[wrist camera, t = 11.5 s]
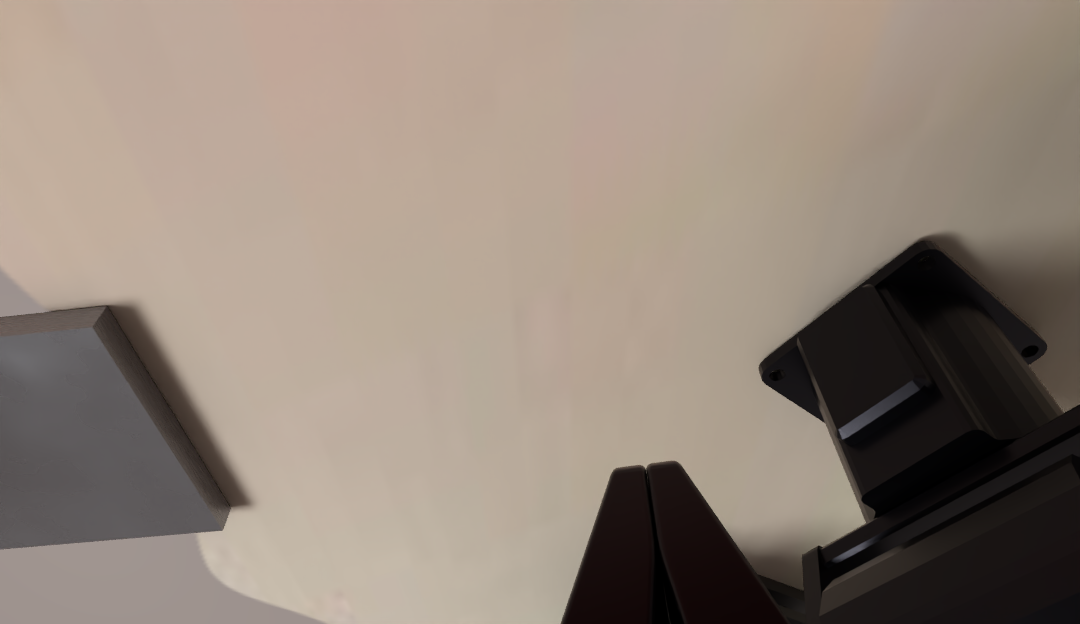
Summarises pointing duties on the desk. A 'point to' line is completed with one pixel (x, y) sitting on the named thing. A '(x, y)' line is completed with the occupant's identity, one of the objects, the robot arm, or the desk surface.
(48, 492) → the rack deck
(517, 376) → the desk surface
